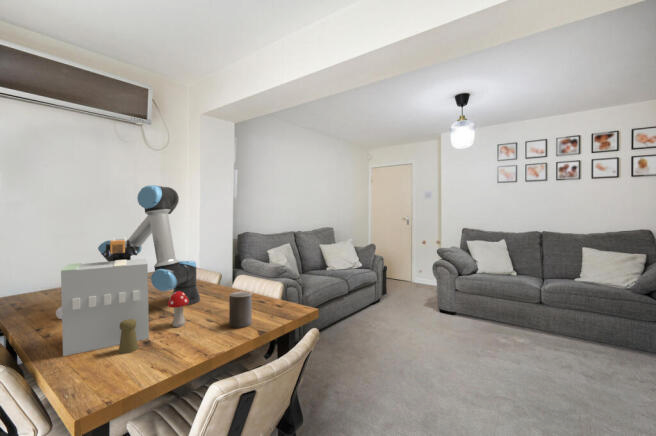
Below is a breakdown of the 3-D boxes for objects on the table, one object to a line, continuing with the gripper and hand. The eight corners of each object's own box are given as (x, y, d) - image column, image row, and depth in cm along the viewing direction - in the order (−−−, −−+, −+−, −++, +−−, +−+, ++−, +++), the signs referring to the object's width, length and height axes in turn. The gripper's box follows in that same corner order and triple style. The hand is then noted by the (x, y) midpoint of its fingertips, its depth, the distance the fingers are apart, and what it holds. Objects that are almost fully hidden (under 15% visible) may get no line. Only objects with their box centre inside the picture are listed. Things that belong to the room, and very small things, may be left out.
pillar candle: (231, 329, 129) (231, 295, 128) (227, 322, 137) (227, 289, 137) (254, 326, 133) (254, 292, 133) (249, 319, 142) (249, 287, 142)
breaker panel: (70, 340, 119) (68, 264, 119) (146, 326, 134) (145, 258, 133) (62, 357, 105) (60, 270, 105) (149, 339, 120) (147, 263, 119)
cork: (124, 346, 113) (124, 317, 113) (141, 345, 114) (141, 316, 114) (114, 354, 107) (114, 323, 107) (132, 353, 108) (132, 322, 108)
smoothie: (83, 309, 153) (71, 316, 140) (70, 316, 151) (56, 325, 138) (76, 298, 152) (62, 305, 139) (62, 306, 150) (47, 313, 137)
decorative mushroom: (169, 322, 138) (168, 289, 137) (189, 319, 141) (189, 287, 141) (166, 330, 129) (166, 295, 128) (189, 327, 132) (188, 293, 132)
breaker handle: (114, 247, 141) (114, 236, 141) (126, 246, 143) (126, 236, 143) (110, 253, 119) (110, 241, 119) (124, 252, 121) (124, 240, 121)
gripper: (101, 253, 149) (96, 232, 131) (141, 251, 158) (141, 230, 140) (101, 267, 146) (95, 247, 128) (141, 264, 155) (141, 245, 137)
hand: (119, 239), depth 134 cm, fingers closed on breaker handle, 3 cm apart
